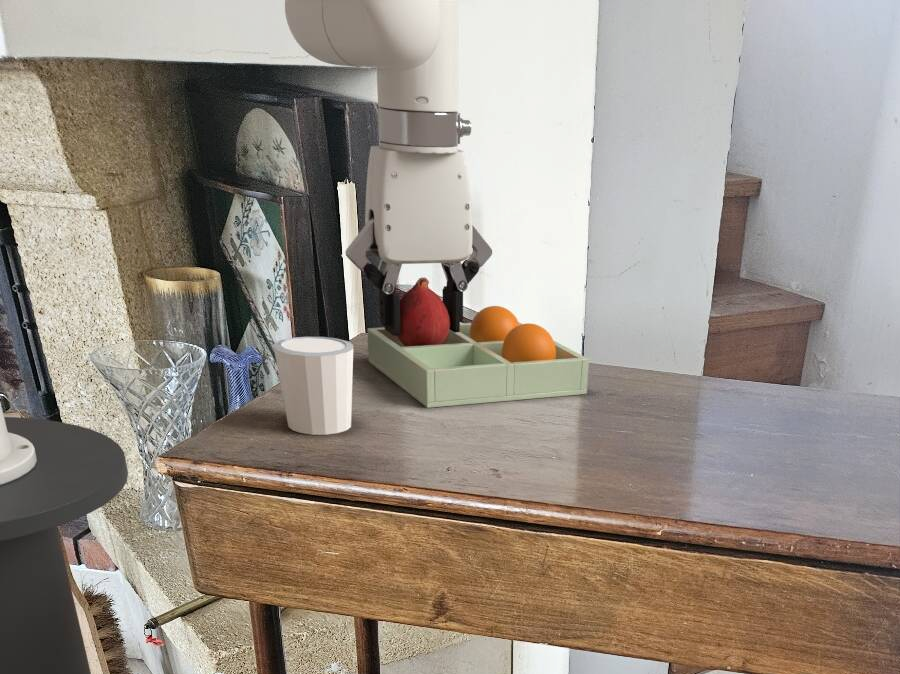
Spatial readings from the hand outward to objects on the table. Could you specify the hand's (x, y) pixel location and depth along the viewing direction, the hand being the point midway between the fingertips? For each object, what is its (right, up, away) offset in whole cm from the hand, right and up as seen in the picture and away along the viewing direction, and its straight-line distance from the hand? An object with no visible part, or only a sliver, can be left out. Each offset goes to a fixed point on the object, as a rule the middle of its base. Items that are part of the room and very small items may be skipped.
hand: (422, 329), depth 109 cm
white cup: (-7, -15, -15) cm, 22 cm away
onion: (0, -3, +2) cm, 3 cm away
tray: (+5, -5, +1) cm, 7 cm away
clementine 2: (+11, -6, 0) cm, 12 cm away
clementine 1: (+7, -1, +6) cm, 9 cm away
